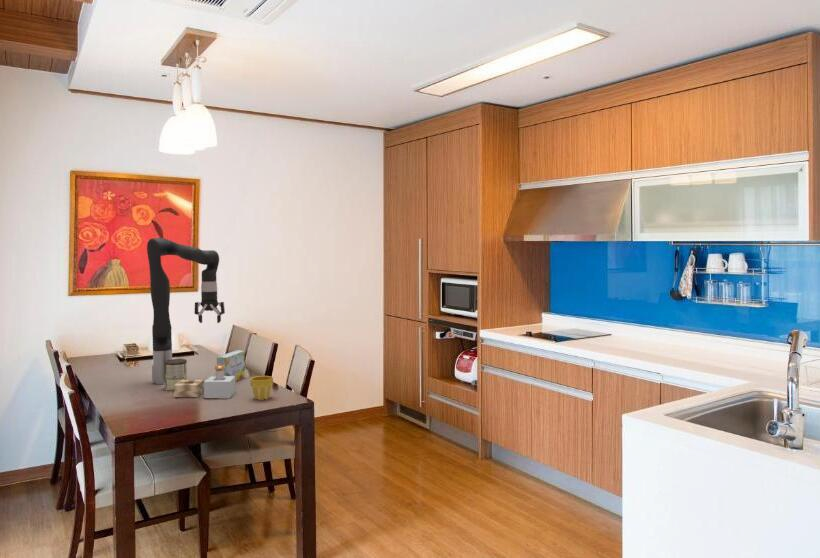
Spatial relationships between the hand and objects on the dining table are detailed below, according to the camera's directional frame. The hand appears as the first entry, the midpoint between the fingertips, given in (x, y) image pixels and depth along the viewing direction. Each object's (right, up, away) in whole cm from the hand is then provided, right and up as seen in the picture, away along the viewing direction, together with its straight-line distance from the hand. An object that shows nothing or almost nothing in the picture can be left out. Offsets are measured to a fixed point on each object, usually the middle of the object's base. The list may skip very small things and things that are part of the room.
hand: (209, 322), depth 309 cm
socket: (+9, -34, -12) cm, 37 cm away
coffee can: (-17, -33, +1) cm, 37 cm away
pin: (+9, -34, -12) cm, 37 cm away
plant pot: (+30, -35, -18) cm, 49 cm away
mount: (-6, -34, -11) cm, 36 cm away
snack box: (+6, -32, +17) cm, 37 cm away
